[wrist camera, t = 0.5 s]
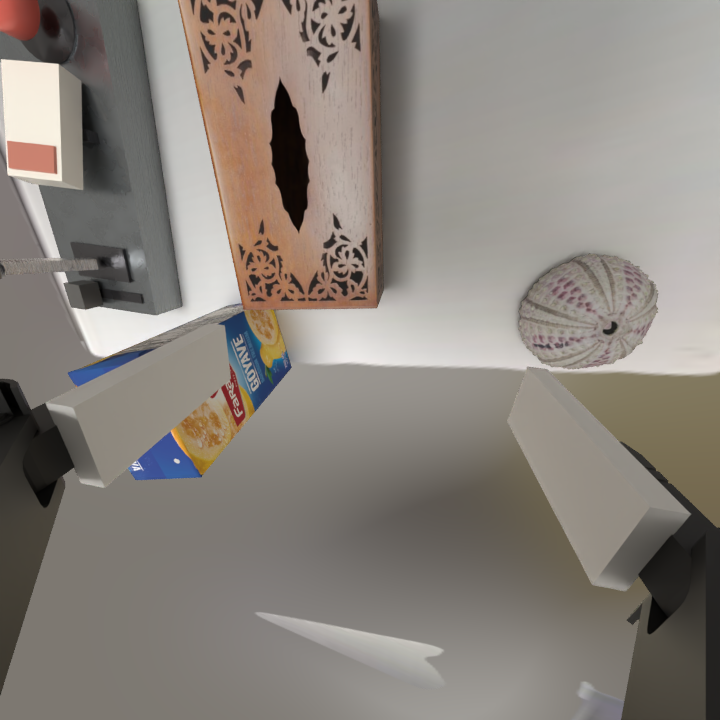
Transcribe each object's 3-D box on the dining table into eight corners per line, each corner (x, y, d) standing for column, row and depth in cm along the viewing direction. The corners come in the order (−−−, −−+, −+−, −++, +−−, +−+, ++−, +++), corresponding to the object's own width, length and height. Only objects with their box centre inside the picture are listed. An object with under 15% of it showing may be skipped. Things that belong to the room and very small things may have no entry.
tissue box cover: (383, 289, 38) (376, 308, 29) (279, 292, 40) (243, 310, 31) (379, 18, 28) (367, -82, 19) (239, 41, 30) (169, -40, 21)
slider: (83, 280, 37) (63, 283, 35) (97, 282, 37) (78, 285, 35) (89, 302, 39) (71, 307, 37) (103, 305, 39) (85, 309, 36)
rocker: (27, 76, 29) (-3, 56, 27) (81, 81, 29) (55, 61, 26) (32, 183, 31) (4, 173, 29) (83, 189, 30) (59, 180, 28)
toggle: (86, 251, 35) (-42, 253, 28) (96, 254, 35) (-33, 257, 27) (91, 271, 36) (-30, 279, 29) (101, 275, 36) (-21, 283, 28)
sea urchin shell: (602, 366, 38) (649, 398, 31) (497, 350, 39) (518, 378, 32) (656, 260, 33) (728, 269, 25) (532, 246, 34) (566, 250, 27)
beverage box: (269, 297, 41) (140, 361, 21) (291, 367, 45) (201, 478, 25) (226, 305, 42) (67, 372, 22) (251, 372, 46) (136, 480, 26)
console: (31, -7, 31) (-52, -59, 25) (136, 0, 30) (73, -54, 24) (108, 295, 44) (65, 304, 39) (182, 306, 43) (148, 317, 38)
